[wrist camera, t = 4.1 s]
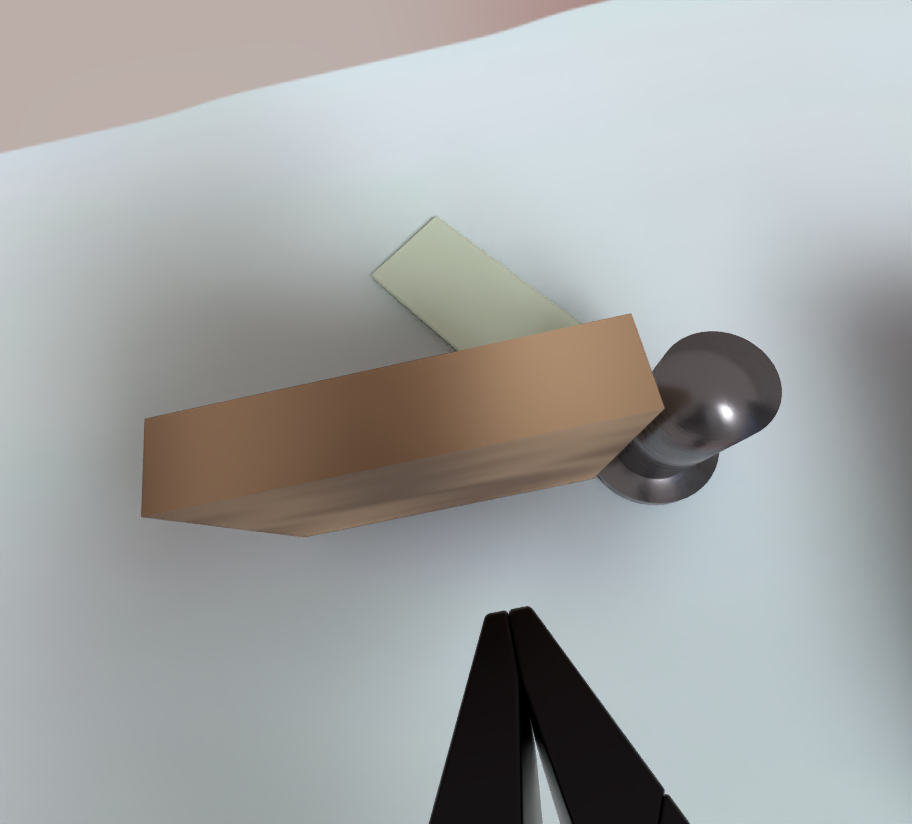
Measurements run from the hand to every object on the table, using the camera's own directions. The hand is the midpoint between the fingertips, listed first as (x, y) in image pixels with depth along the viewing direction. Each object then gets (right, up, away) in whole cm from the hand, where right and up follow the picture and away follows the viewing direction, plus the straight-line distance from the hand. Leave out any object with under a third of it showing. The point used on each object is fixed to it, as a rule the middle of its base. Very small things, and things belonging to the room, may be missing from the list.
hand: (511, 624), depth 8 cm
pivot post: (+6, +3, +8) cm, 11 cm away
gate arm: (-2, +2, +8) cm, 8 cm away
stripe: (0, +8, +11) cm, 13 cm away
